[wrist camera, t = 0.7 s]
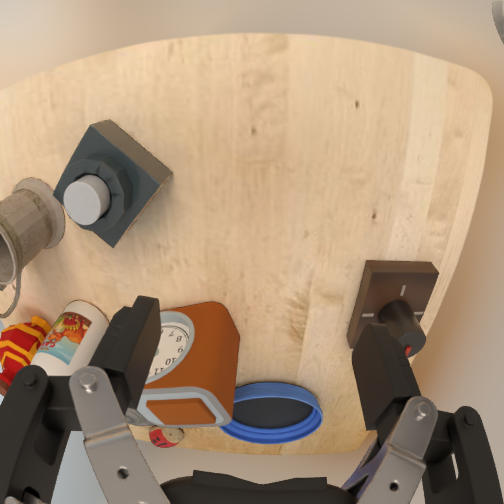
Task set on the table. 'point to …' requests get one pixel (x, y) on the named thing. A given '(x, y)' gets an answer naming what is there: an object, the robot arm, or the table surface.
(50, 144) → the table surface
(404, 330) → the dial
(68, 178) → the push button base
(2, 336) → the potion bottle
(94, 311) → the milk bottle
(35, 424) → the robot arm
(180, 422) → the alarm clock
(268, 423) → the bowl
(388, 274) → the dial panel
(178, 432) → the ladybug figurine
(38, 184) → the mug
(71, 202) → the grey push button
